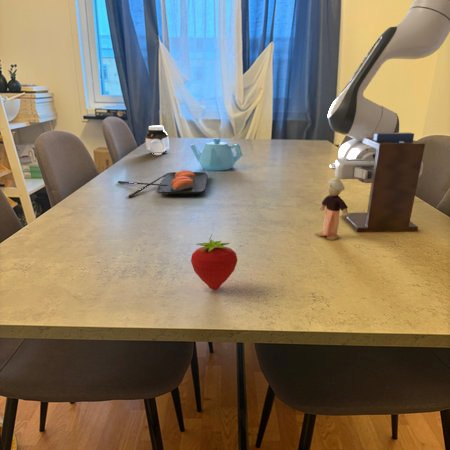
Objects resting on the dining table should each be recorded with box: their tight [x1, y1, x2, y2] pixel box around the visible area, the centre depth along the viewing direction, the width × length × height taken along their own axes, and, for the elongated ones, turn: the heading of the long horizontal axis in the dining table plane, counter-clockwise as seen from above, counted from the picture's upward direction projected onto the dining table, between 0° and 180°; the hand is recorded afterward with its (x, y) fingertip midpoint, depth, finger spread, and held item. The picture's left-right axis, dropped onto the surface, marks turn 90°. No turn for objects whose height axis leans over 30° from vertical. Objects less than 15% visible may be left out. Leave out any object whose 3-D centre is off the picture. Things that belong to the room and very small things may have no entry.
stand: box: [341, 137, 426, 233], centre depth 99 cm, size 14×12×19 cm
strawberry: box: [190, 234, 238, 291], centre depth 70 cm, size 6×8×10 cm
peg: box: [373, 132, 415, 143], centre depth 97 cm, size 8×5×18 cm, turn 92°
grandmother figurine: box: [317, 178, 349, 241], centre depth 92 cm, size 8×4×13 cm, turn 44°
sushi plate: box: [117, 169, 208, 199], centre depth 138 cm, size 29×30×4 cm
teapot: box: [189, 137, 243, 172], centre depth 165 cm, size 15×15×11 cm
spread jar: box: [145, 125, 170, 156], centre depth 196 cm, size 12×11×12 cm
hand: (389, 175), depth 97 cm, fingers open, 8 cm apart
